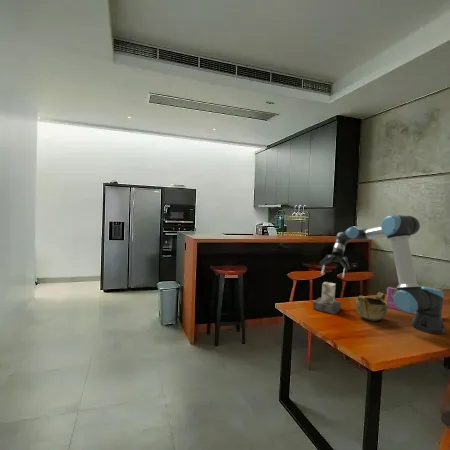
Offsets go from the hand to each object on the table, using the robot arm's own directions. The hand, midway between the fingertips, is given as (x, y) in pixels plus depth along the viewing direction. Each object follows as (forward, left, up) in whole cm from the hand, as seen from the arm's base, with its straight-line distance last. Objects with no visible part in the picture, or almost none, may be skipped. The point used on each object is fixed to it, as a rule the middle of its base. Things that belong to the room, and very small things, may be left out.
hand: (332, 275), depth 199 cm
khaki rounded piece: (-21, -18, -20) cm, 35 cm away
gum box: (+2, -50, -21) cm, 54 cm away
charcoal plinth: (-9, +4, -21) cm, 23 cm away
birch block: (-9, +4, -16) cm, 18 cm away
